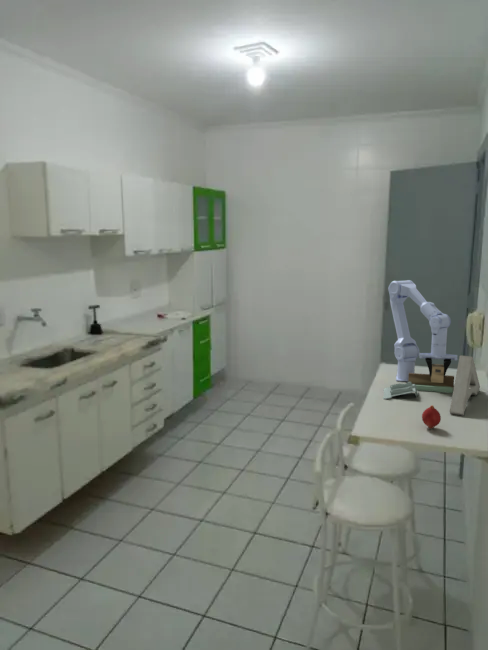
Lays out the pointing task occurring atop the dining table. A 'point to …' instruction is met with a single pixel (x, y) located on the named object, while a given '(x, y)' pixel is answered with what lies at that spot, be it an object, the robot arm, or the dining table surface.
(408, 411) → the dining table surface
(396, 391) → the metal bracket
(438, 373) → the cabinet block
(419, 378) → the wall board
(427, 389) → the cleat ledge
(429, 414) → the onion
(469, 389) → the white letter a
